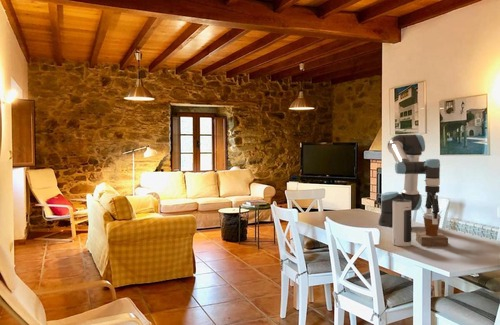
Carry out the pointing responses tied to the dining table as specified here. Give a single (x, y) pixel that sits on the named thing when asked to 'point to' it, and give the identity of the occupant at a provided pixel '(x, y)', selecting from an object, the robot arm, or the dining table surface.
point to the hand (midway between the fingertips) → (431, 221)
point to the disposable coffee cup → (430, 225)
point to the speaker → (402, 222)
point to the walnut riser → (431, 240)
